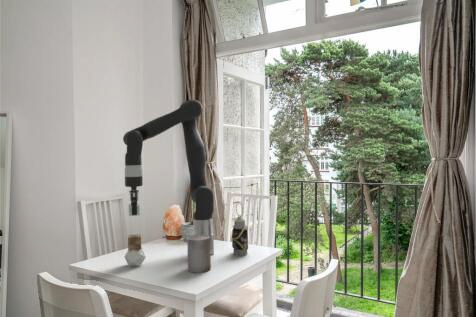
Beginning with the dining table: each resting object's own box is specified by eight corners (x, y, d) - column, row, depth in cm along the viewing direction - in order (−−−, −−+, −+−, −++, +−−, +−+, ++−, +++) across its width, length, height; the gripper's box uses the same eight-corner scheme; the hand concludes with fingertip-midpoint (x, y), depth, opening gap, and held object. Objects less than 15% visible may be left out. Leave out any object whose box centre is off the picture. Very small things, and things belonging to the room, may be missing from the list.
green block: (139, 213, 159) (139, 203, 159) (139, 215, 154) (139, 205, 154) (129, 214, 157) (128, 204, 157) (128, 216, 153) (128, 205, 153)
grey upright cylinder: (205, 264, 155) (204, 230, 155) (214, 270, 147) (213, 234, 146) (184, 268, 151) (183, 233, 151) (192, 274, 142) (191, 237, 142)
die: (134, 271, 150) (147, 251, 153) (117, 260, 151) (131, 241, 154) (139, 272, 157) (151, 253, 160) (123, 262, 159) (136, 243, 162)
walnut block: (141, 246, 159) (140, 234, 159) (141, 249, 154) (141, 236, 154) (128, 247, 158) (128, 235, 158) (128, 250, 152) (127, 237, 152)
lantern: (251, 254, 169) (250, 202, 169) (237, 257, 166) (236, 204, 165) (242, 250, 177) (241, 200, 177) (228, 252, 173) (227, 202, 173)
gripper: (142, 176, 150) (143, 216, 150) (142, 174, 164) (143, 211, 164) (124, 176, 148) (125, 217, 148) (125, 175, 162) (126, 212, 162)
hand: (134, 213), depth 156 cm, fingers closed on green block, 4 cm apart
